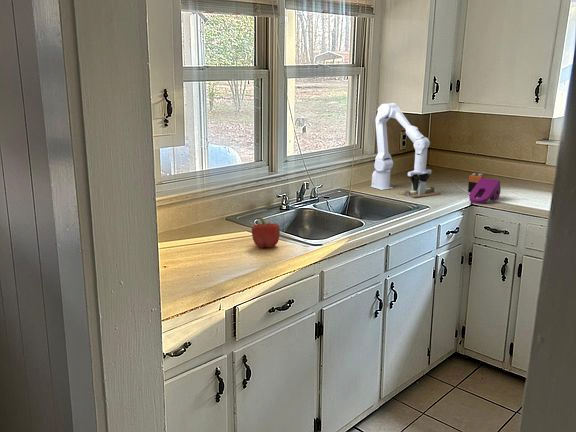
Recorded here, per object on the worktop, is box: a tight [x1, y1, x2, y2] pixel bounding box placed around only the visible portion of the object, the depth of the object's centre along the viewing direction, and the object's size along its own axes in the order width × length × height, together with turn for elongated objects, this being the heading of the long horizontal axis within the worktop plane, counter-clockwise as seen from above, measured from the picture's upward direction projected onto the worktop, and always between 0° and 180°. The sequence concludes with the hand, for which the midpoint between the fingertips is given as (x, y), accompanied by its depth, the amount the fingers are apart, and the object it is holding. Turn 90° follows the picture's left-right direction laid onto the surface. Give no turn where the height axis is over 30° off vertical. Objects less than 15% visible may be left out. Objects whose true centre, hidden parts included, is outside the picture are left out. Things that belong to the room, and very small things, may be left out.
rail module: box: [410, 180, 427, 195], centre depth 295 cm, size 6×4×6 cm, turn 33°
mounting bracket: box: [468, 177, 502, 205], centre depth 286 cm, size 9×8×18 cm
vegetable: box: [251, 216, 280, 249], centre depth 212 cm, size 11×10×10 cm
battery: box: [467, 172, 486, 193], centre depth 300 cm, size 4×7×10 cm, turn 49°
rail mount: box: [398, 186, 441, 199], centre depth 296 cm, size 11×18×3 cm, turn 123°
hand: (418, 188), depth 295 cm, fingers closed on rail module, 4 cm apart
